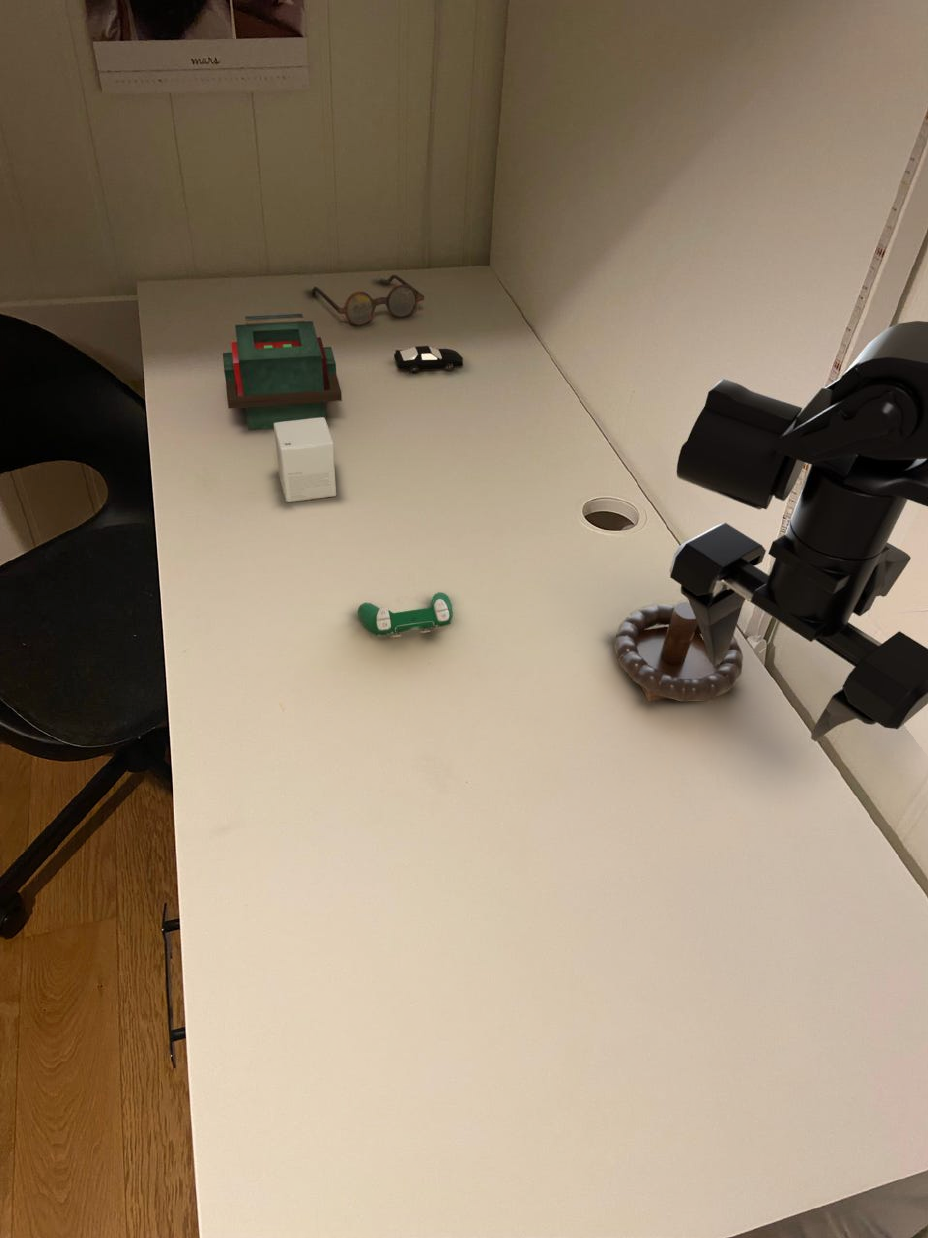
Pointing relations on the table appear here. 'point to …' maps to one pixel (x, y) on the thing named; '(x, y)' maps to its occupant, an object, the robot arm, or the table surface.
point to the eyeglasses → (377, 302)
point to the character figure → (279, 371)
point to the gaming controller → (406, 617)
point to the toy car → (427, 359)
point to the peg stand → (676, 648)
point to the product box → (305, 459)
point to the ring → (666, 683)
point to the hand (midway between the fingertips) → (764, 698)
